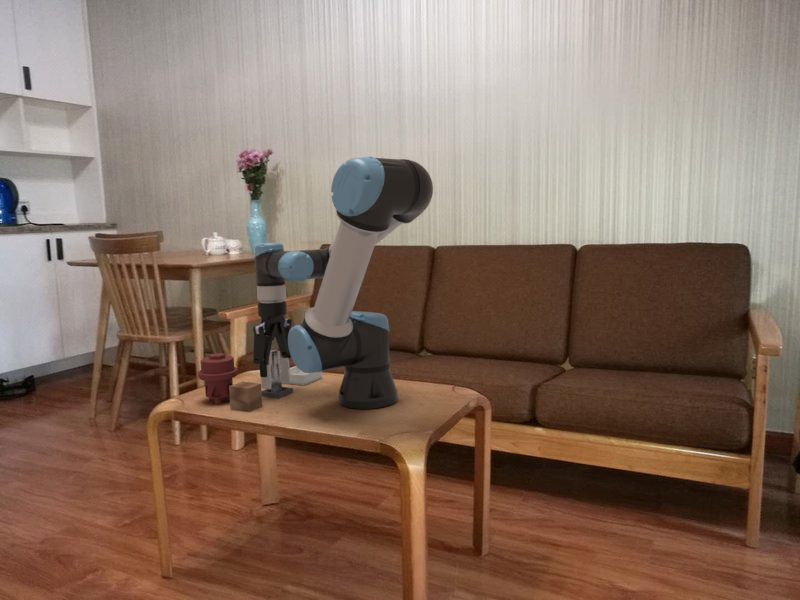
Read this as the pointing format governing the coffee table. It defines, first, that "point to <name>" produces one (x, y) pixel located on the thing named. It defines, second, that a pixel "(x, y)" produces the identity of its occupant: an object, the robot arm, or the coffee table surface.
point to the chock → (245, 396)
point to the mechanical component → (218, 376)
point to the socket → (284, 392)
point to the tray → (302, 377)
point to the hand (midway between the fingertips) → (276, 384)
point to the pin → (275, 371)
